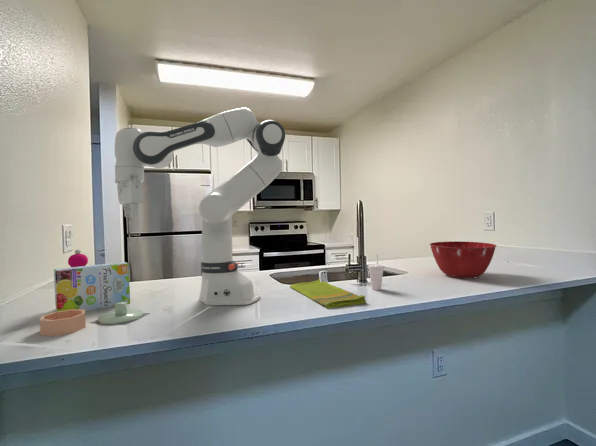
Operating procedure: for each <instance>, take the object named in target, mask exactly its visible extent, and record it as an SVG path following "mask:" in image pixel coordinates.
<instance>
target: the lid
mask: <svg viewBox="0 0 596 446" xmlns="http://www.w3.org/2000/svg"><path fill="white" fill-rule="evenodd" d="M143 313H144V311H143V310H142V309H139V308H138V309H137V308H128V304H127V302H118V303H115V306H114V310H112V311H109V312H105V313H102V314H101V315H99V316H98V317H97V320H98V322H99V323H100V324H101V325H117V324H120V323H126V322H130V321H133V322H135V321H138V320H140V319H142V318H143V317H142V316H143ZM141 317H142V318H141ZM139 318H140V319H139ZM137 319H138V320H137ZM134 320H135V321H134Z"/></svg>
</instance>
